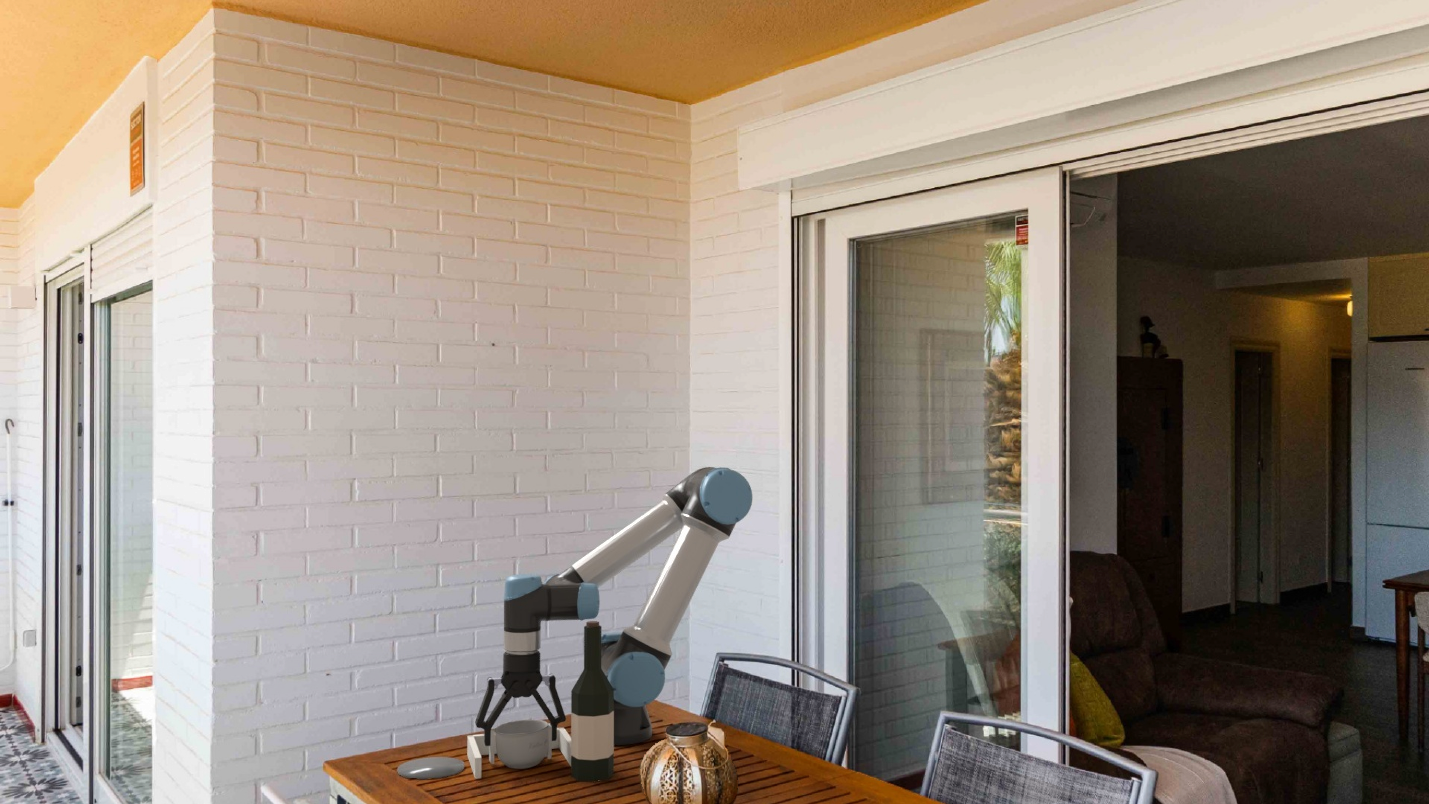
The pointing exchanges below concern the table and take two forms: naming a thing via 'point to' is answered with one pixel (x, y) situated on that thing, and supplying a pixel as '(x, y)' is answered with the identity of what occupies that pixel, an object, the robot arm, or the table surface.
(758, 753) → the table surface
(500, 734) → the teacup
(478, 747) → the white u-shaped frame
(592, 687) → the wine bottle
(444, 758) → the grey flat disc
